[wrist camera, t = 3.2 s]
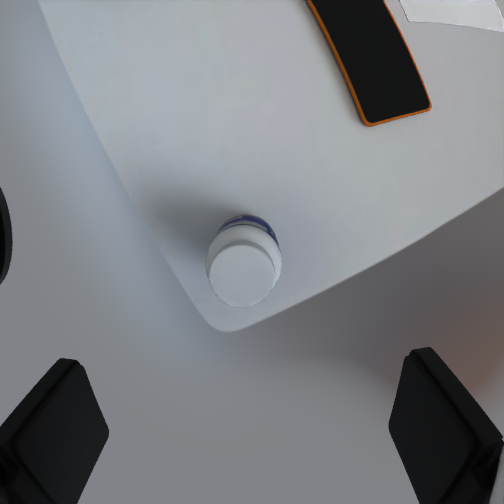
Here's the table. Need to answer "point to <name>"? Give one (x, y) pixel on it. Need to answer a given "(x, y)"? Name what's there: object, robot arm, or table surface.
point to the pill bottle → (243, 261)
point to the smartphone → (372, 59)
